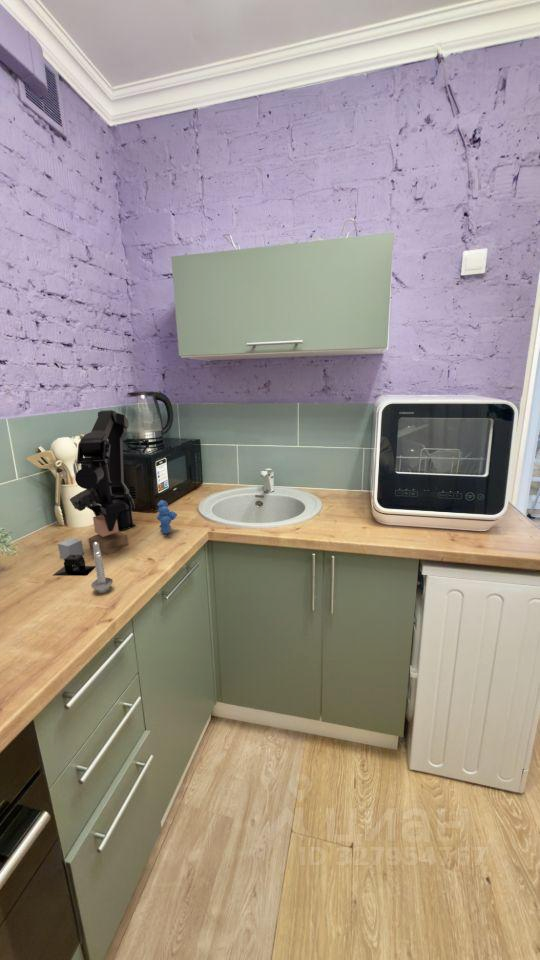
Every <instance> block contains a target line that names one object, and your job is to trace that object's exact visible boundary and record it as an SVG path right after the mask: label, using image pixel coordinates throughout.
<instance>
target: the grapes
mask: <svg viewBox="0 0 540 960" xmlns="http://www.w3.org/2000/svg"><path fill="white" fill-rule="evenodd" d="M168 505H169V503H168V502H167V501H166V500H163V499H161V500H159V501H158V503H157V505H156V506H157V507H158V508H157V510H156V511H157V512H158V515H157V516H156V519H157V520H158V521H159V522H160V525H159V528H160V532H161V533H162V534H164V535H167V534H169V532H171V528H172V526H171V525H170V524H171V523H172V521H173V520H175V519H176V518H177V517H178V514H177V513H176V512H175V511H173V510H170V508H168Z"/></svg>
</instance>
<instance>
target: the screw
mask: <svg viewBox="0 0 540 960" xmlns="http://www.w3.org/2000/svg"><path fill="white" fill-rule="evenodd" d="M93 549H94V551H93V559H94V560H93V562H94V566H96V567H95V568H94V569H95V573H96V579H95V580H94V581H92V582H91V589H94V590H96V592H97V593H98V594H106V593H107V592H108V591H110V586H111V585H113V583H114V581H113V579H112V578H110V577H106V575H105V567H104V561H103V557H102V556H103V554H101V550H100V549H99V543H97V542H94V543H93Z"/></svg>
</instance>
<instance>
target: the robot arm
mask: <svg viewBox="0 0 540 960" xmlns="http://www.w3.org/2000/svg"><path fill="white" fill-rule="evenodd" d="M129 426H130V424H129V419H128V418H127V417H126V415H125V414H122V413H118V412H117V411H115V410H112V409H111V410H109V409H108V410H106V409H105V410H99V411H98V412H97V418H96V421H95V423H94V425H93V427H92V430H91V431H90V432H88V433H86V434H84V435H83V436H82V437H81V439H80V441H79V442H78V444H77V456H76V464H77V465H80V467H81V468H80V469H79V470H78V471H77V472H76V474H75V477H74V480H75V483H76V484H77V485H78V486H79V487H80V488H82V489H85V490H83V491H81V492H78V493H77V494H76V495H73V496H72V497H70V499H69V502H70V503H71V504H72V506H73V508H74V509H75V510H77V511H79V512H81V511H83V510H85V509H86V508H87V509H89V510H91V511H92V512H93V513H94V517H96V516H99V515H103V516H104V518H105V521H106V524H107V528H108V530H109V531H113V528H114V526H115V523H116V520H117V523H118V530H119V532H121V531H124V530H127V529H129V527H131V528H134V527H136V524H135V523H134V522H133V515H132V514H133V513H132V512H133V511H134V510H135V509H136V507H135V501H134V499H133V497H132V495H131V493H130V489H129V488H128V487H127V485H126V483H125V479H124V476H125V475H124V474H125V473H124V449H123V448H124V445H123V441H124V440H125V438H126V437H127V435H128V429H129ZM133 526H134V527H133ZM123 529H124V530H123Z"/></svg>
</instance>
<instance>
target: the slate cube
mask: <svg viewBox="0 0 540 960" xmlns="http://www.w3.org/2000/svg"><path fill="white" fill-rule="evenodd" d="M57 548H58V552H59V557H60V558H61V559H65V558H67V557H68V556H69V555H83V556H84V547H83V541H82V540H81V539H77V538H73V537H70V538H68V539H66V540H63V541H62V542H58V543H57Z"/></svg>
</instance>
